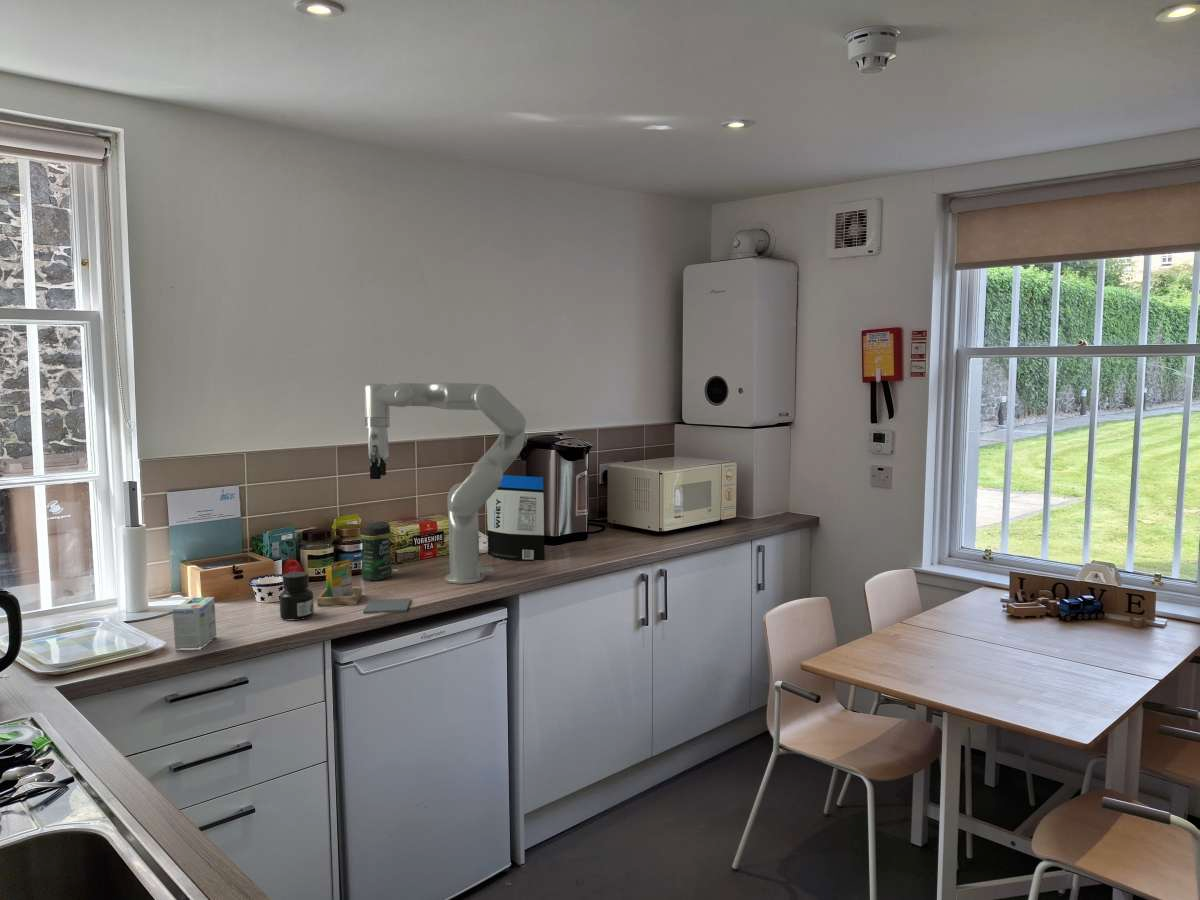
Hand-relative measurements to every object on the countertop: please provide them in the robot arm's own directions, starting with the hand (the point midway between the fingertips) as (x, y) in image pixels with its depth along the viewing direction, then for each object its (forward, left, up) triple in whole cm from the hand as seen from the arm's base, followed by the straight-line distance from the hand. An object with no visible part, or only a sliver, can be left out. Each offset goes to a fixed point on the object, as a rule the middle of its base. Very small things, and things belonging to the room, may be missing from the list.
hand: (378, 477), depth 272 cm
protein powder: (-43, -33, -35) cm, 64 cm away
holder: (+10, +17, -35) cm, 40 cm away
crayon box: (+10, +17, -34) cm, 40 cm away
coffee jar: (+3, -10, -35) cm, 36 cm away
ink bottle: (+19, +32, -35) cm, 51 cm away
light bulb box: (+39, +53, -35) cm, 75 cm away
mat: (-5, +26, -35) cm, 44 cm away
